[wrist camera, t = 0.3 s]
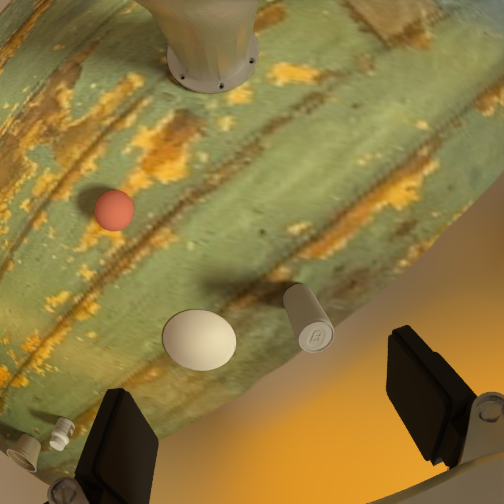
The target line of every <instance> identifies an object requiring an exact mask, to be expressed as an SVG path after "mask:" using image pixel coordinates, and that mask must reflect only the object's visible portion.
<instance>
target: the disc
mask: <svg viewBox="0 0 504 504" xmlns="http://www.w3.org/2000/svg"><path fill="white" fill-rule="evenodd" d="M163 343H164V347H165V349H166V351H167V353H168V354H169V356H170V357H171V358H172V359H173V360H174V361H175V362H177V363H178V364H180V365H182V366H184V367H186V368H189V369H193V370H201V371H202V370H211V369H215V368H218V367H220V366H222V365H223V364H225V363H226V362H227V361H228V360H229V359H230V358H231V356H232V355H233V353H234V351H235V347H236V338H235V334H234V331H233V329H232V327H231V326H230V325H229V323H228V322H227V321H226V320H225V319H223V318H222V317H221V316H219V315H217V314H215V313H213V312H210V311H206V310H198V309H197V310H187V311H184V312H181V313H179V314H177V315H175V316H174V317H173V318H172V319H171V320H170V321H169V322H168V323H167V325H166V327H165V329H164V333H163Z"/></svg>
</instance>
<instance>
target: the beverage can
mask: <svg viewBox="0 0 504 504" xmlns="http://www.w3.org/2000/svg"><path fill="white" fill-rule="evenodd" d="M283 304H284V307H285V309H286V312H287V315H288V318H289V320H290V323H291V326H292V329H293V332H294V334H295V337H296V340H297V342H298V344H299V345H300V347H301V348H302V349H303V350H305V351H307V352H311V353H316V352H320V351H322V350H324V349H326V348H327V347H328V346H329V345H330V344H331V343H332V341H333V338H334V330H333V326H332V324H331V322H330V320H329V319H328V317H327V315H326V314H325V312H324V310H323V309H322V307H321V306H320V304H319V302H318V301H317V299H316V297H315V295H314V294H313V292H312V290H311V289H310V288H309V287H308V286H307V285H304V284H295V285H293V286H291V287H290V288H288V289H287V291H286V292H285V293H284V295H283Z"/></svg>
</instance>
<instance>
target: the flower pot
mask: <svg viewBox="0 0 504 504" xmlns="http://www.w3.org/2000/svg"><path fill="white" fill-rule="evenodd" d="M40 449H41V445H40V443H39V442H38V441H37V440H36V439H35V438H34V437H32V436H30V435H29V434H23V435H22V436H21V437H20V438H19V440H18V441H17V442H16V443H15V444H14V446H13V447H11V448H10V449H8V450H7V454H8V456H9V457H10V458H11V460H12V461H14V462H15V463H16V464H17V465H19V466H20V467H21V468H23V469H25V470H27V471H30V472H36V462H37V459H38V455H39V452H40Z"/></svg>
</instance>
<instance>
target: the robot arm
mask: <svg viewBox="0 0 504 504" xmlns="http://www.w3.org/2000/svg"><path fill="white" fill-rule="evenodd" d="M134 1H136V2H137V3H139V4H140V5H142V6H143V7H145V8H146V9H147V10H148V11H149V12H150V13H151V14H152V16H153V17H154V19H155V21H156V22H157V24H158V26H159V28H160V30H161V31H162V33H163V35H164V37H165V39H166V40H167V42H168V44H169V45H168V48H167V63H168V66H169V69H170V71H171V73H172V75H173V76H174V77H175V79H176V80H177V81H178V82H179V83H180V84H182V85H183V86H184V87H186V88H188V89H190V90H192V91H195V92H198V93H204V94H217V93H223V92H226V91H229V90H232V89H234V88H236V87H238V86H239V85H241V84H242V83H243V82H245V81H246V80H247V79H248V78H249V76H250V75H251V74H252V73H253V71H254V69H255V67H256V65H257V62H258V57H259V44H258V41H257V38H256V36H255V34H254V32H253V26H254V21H255V17H256V12H257V7H258V0H134ZM250 61H252V62H253V63H252V64H251V63H250ZM182 77H185V78H184V79H181V78H182ZM220 86H223V88H222V89H220V88H219V87H220ZM386 392H387V395H388V397H389V399H390V401H391V402H392V404H393V406H394V407H395V409H396V411H397V413H398V414H399V416H400V418H401V419H402V421H403V423H404V425H405V426H406V428H407V430H408V431H409V433H410V435H411V437H412V438H413V440H414V442H415V444H416V445H417V447H418V449H419V451H420V452H421V454H422V456H423V457H424V459H425V460H426V461H429V460H430V461H431V463H432V464H433V466H435V465H437V464H438V463H441V462H444V463H445V465H446V466H448V468H447V471H445V472H443V473H441V474H439V475H436V476H434V477H432V478H430V479H428V480H426V481H424V482H421V483H419V484H417V485H414V486H412V487H410V488H407V489H405V490H402V491H400V492H397V493H395V494H392V495H389V496H387V497H384V498H381V499H379V500H376V501H373V502H370V503H367V504H504V395H503V394H501V393H497V392H487V393H483V394H481V395H480V396H478V397H477V396H476V394H475V393H474V392H473V391H472V390H471V389H470V388H469V386H468V385H467V384H466V383H465V382H464V381H463V379H462V378H461V377H460V376H459V375H458V374H457V373H456V372H455V370H454V369H453V368H452V367H451V366H450V365H449V364H448V363H447V362H446V361H445V359H444V358H443V357H442V356H441V355H440V354H439V353H437V352H433V351H432V350H431V348H430V347H429V346H428V345H427V344H426V343H425V342H424V341H423V340H422V339H421V338H420V337H419V336H418V334H417V333H416V332H415V331H414V330H413V329H412V328H411V327H410V326H409V325H405V326H402V327H400V328H397V329H394V330H393V331H392V335H389V337H388V361H387V382H386ZM158 444H159V443H158V438H157V436H156V435H155V433H154V432H153V430H152V429H151V427H150V425H149V424H148V422H147V421H146V419H145V418H144V416H143V414H142V413H141V411H140V409H139V408H138V406H137V404H136V403H135V401H134V399H133V398H132V396H131V394H130V393H129V392H127V391H125V390H124V389H123V388H117V389H108V390H107V392H106V394H105V396H104V398H103V401H102V403H101V406H100V408H99V410H98V413H97V415H96V418H95V420H94V423H93V425H92V428H91V430H90V433H89V436H88V438H87V441H86V443H85V446H84V449H83V451H82V454H81V457H80V459H79V462H78V465H77V468H76V471H75V474H76V475H75V478H71V477H61V478H59V479H57V480H55V481H54V482H53V483H52V484H51V485H50V487H49V489H48V492H47V498H48V501H47V502H46V503H44V504H149V499H150V494H151V487H152V481H153V475H154V468H155V462H156V457H157V451H158Z"/></svg>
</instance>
